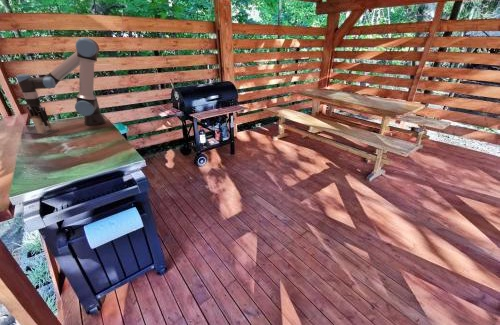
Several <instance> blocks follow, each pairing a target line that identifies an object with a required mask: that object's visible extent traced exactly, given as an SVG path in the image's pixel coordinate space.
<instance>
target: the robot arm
mask: <svg viewBox="0 0 500 325" xmlns="http://www.w3.org/2000/svg"><path fill="white" fill-rule="evenodd" d="M75 50H76V51H75V52H74V53H72V54H71V55H70V56H68V57H67V58H66V59H64V61H62V62H61V63H60V64H58V65H57V66H56V67H55V68H54V69H52V70H51V71H50V72H49V73H47V75H45V76H39V77H32V76H31V75H30V74H17V75H16V80H17V83H18V85H19V88H20V90H21V93H22V94H23V97H24V99H25V102H26V104H27V105H28V106H27V107H26V109H27V110H28V112H29V115H30V118H31V117H33V116H37V115H39V116H40V118H41V119H42V124H43V126H44V129H45V131H47V130H50V129H49V127H48V123H47V121H48V120H49V121H50V119H49V117H48V113H47V111H46V106H44V107H43V106H42V105H41V103H42V102H41V100H40V97H39V94H38V92H37V90H40V89H44V90H45V89H55V88H56V86H57V85H58V84H59V82H61V81H63V79H64V78H65V77H67V76H68V75H69V74H71V73H72V72H74V70H76V69H77V68H78V67H79V77H78V79H79V80H78V82H79V84H78V85H79V86H78V87H79V88H78V90H79V92H78V94H77V95H76V103H75V105H74V109H75V111H76V113H78V114H79V115H81V116H83V118H84V121H83V123H84V126H89V127H93V126H99V125H103V124H106V123H107V122H106V119H105V117H104V116H103V115H102V113H101V110H100V105H99V102H98V98H97V96H96V95H95V94H94V82H95V78H94V77H95V63H96V62H98V54H99V52H100V46H99V44H98V43H97V41H95V40H94V39H91V38H88V37H87V38H86V37H81V38H78V39H77V41H76V42H75Z"/></svg>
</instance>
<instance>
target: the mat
mask: <svg viewBox="0 0 500 325" xmlns="http://www.w3.org/2000/svg"><path fill="white" fill-rule="evenodd" d="M57 132H60V129H52V130H51V131H48V132H45V133H38V132H37V130H36V128H35V129H32V130H28V131H25V132H24V134H29V135H41V136H42V135H43V136H47V135H52V134H54V133H57Z"/></svg>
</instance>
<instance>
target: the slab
mask: <svg viewBox="0 0 500 325" xmlns="http://www.w3.org/2000/svg"><path fill="white" fill-rule="evenodd" d="M30 118H31V120H32V122H33V124H34V126H35V129H36V130H37V132H38V133H45V132H48V131H51V130H53V127H52V125H51V122H50V119H49V120H48V121H47V123H48V127H49V129H50V130H47V131H45V129H44V126H43V124H42V119H41V118H40V116H39V114H38V115H37V116H33V117H31V116H30Z"/></svg>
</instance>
